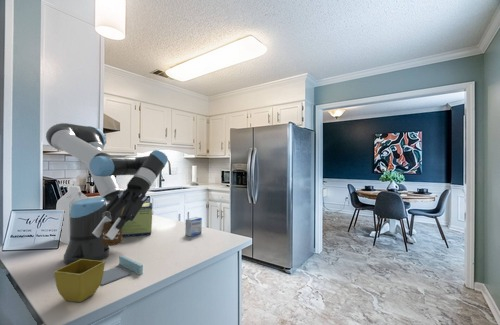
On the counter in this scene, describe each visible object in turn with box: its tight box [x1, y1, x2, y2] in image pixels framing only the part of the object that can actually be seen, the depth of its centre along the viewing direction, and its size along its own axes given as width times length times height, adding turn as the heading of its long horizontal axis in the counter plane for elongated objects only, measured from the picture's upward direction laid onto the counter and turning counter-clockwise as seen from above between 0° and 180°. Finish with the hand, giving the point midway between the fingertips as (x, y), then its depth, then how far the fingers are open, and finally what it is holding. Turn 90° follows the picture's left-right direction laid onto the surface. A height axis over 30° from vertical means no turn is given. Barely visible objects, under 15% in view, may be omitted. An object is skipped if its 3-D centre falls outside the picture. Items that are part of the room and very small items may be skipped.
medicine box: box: [184, 216, 203, 237], centre depth 128 cm, size 8×4×9 cm, turn 146°
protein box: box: [122, 202, 153, 238], centre depth 127 cm, size 10×16×16 cm
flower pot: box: [53, 259, 106, 303], centre depth 68 cm, size 9×9×9 cm
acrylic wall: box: [118, 255, 144, 275], centre depth 86 cm, size 14×1×3 cm, turn 56°
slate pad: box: [99, 266, 131, 287], centre depth 80 cm, size 9×9×1 cm
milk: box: [55, 185, 89, 245], centre depth 117 cm, size 12×12×26 cm
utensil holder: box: [102, 208, 124, 247], centre depth 80 cm, size 6×6×12 cm
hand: (102, 236), depth 77 cm, fingers closed on utensil holder, 5 cm apart
